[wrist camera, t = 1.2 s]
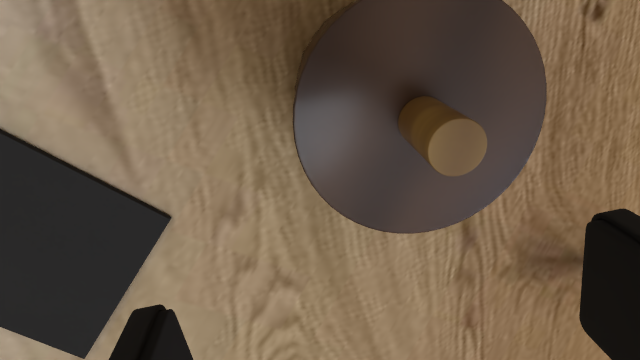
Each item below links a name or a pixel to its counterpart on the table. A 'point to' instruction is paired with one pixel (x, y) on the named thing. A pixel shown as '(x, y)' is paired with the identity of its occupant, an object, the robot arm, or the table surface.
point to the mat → (65, 247)
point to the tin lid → (418, 110)
